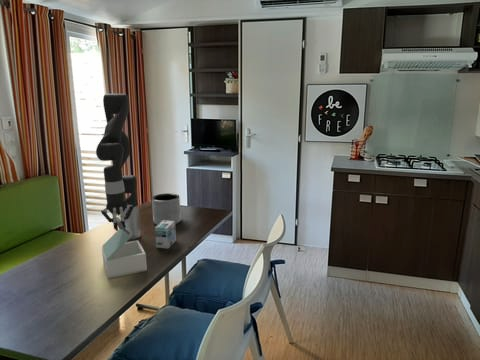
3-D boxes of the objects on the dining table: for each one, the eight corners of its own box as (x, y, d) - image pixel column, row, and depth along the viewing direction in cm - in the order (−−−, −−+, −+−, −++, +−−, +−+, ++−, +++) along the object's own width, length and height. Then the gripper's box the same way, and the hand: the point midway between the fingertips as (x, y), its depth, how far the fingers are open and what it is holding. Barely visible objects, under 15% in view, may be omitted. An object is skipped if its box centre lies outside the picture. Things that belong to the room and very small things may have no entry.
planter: (178, 226, 207) (176, 200, 203) (150, 227, 207) (148, 200, 203) (183, 217, 222) (181, 192, 218) (156, 217, 222) (155, 193, 219)
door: (103, 246, 161) (92, 238, 158) (126, 223, 164) (116, 214, 161) (107, 260, 148) (96, 251, 145) (132, 234, 151) (122, 225, 148)
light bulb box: (168, 248, 178) (167, 228, 175) (155, 247, 179) (154, 227, 177) (176, 240, 188) (175, 220, 186) (164, 239, 189) (163, 219, 187)
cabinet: (103, 263, 163) (101, 246, 161) (139, 256, 170) (138, 240, 168) (108, 279, 149) (106, 261, 148) (147, 270, 156) (145, 253, 154)
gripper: (130, 186, 157) (134, 223, 162) (96, 191, 151) (101, 229, 156) (133, 190, 151) (137, 229, 155) (98, 195, 145) (103, 235, 149)
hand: (119, 229), depth 155 cm, fingers closed on door, 2 cm apart
